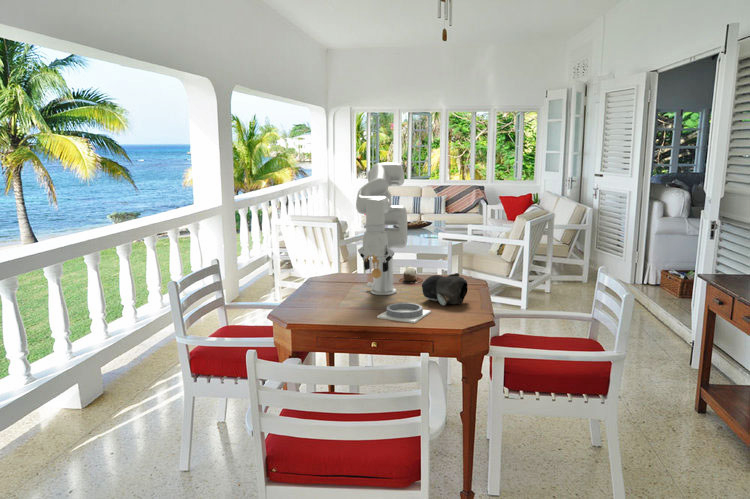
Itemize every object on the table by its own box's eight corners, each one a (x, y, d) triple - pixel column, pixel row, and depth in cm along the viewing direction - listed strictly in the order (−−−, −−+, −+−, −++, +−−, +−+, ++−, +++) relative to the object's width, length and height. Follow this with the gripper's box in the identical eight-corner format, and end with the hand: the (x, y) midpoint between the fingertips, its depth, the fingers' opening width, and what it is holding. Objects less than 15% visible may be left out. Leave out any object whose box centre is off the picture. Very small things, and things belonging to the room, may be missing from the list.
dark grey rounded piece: (459, 319, 251) (457, 296, 244) (415, 312, 260) (411, 289, 252) (471, 291, 265) (470, 268, 258) (429, 285, 274) (426, 263, 266)
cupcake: (401, 275, 311) (413, 262, 307) (415, 289, 309) (427, 276, 306) (394, 279, 300) (407, 266, 296) (408, 293, 298) (421, 280, 294)
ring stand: (377, 317, 237) (377, 310, 236) (395, 307, 252) (395, 300, 251) (414, 323, 229) (414, 315, 229) (431, 312, 244) (431, 304, 243)
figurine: (387, 277, 239) (386, 248, 237) (385, 280, 233) (384, 251, 231) (367, 276, 241) (366, 249, 239) (365, 280, 235) (363, 251, 233)
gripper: (352, 228, 234) (353, 270, 237) (389, 231, 226) (390, 274, 229) (361, 226, 241) (362, 266, 244) (398, 228, 232) (399, 270, 235)
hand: (376, 270), depth 236 cm, fingers closed on figurine, 8 cm apart
